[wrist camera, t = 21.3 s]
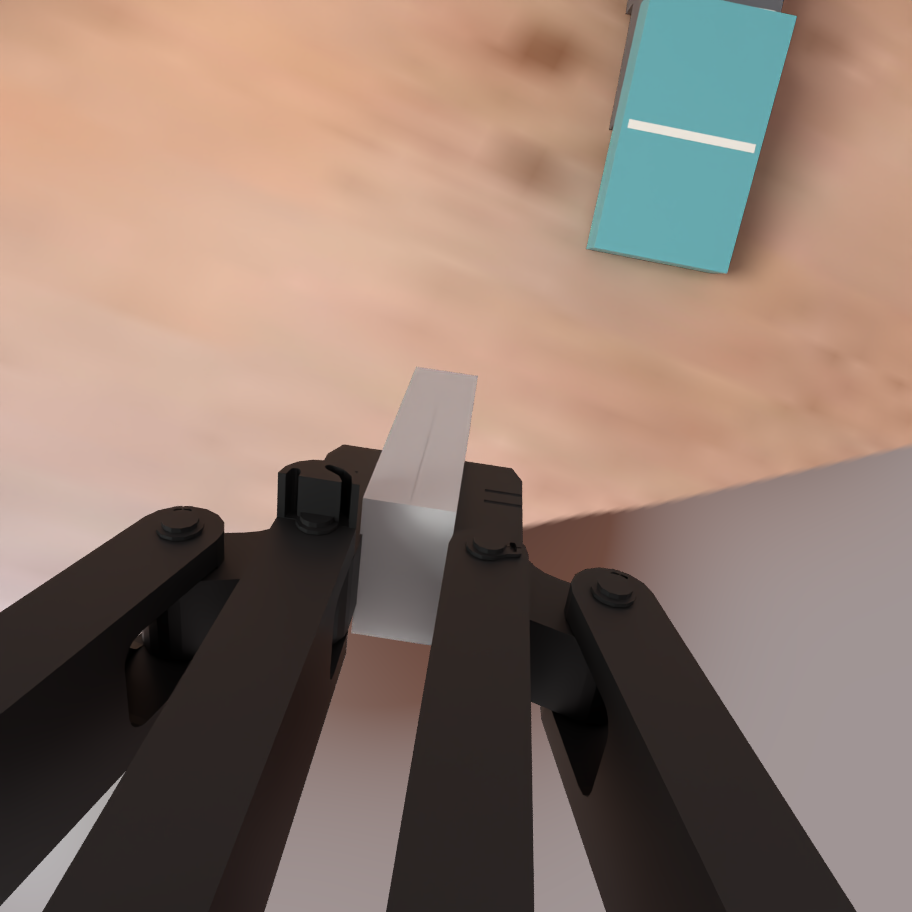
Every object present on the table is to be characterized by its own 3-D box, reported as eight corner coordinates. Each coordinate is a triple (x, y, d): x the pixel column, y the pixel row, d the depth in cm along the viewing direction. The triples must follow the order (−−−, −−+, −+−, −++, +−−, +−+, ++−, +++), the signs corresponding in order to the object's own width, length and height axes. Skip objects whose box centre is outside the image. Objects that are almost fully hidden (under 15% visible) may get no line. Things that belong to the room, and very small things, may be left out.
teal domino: (727, 273, 37) (797, 15, 34) (594, 247, 37) (653, -15, 34) (711, 273, 39) (775, 32, 36) (586, 248, 39) (640, 4, 36)
